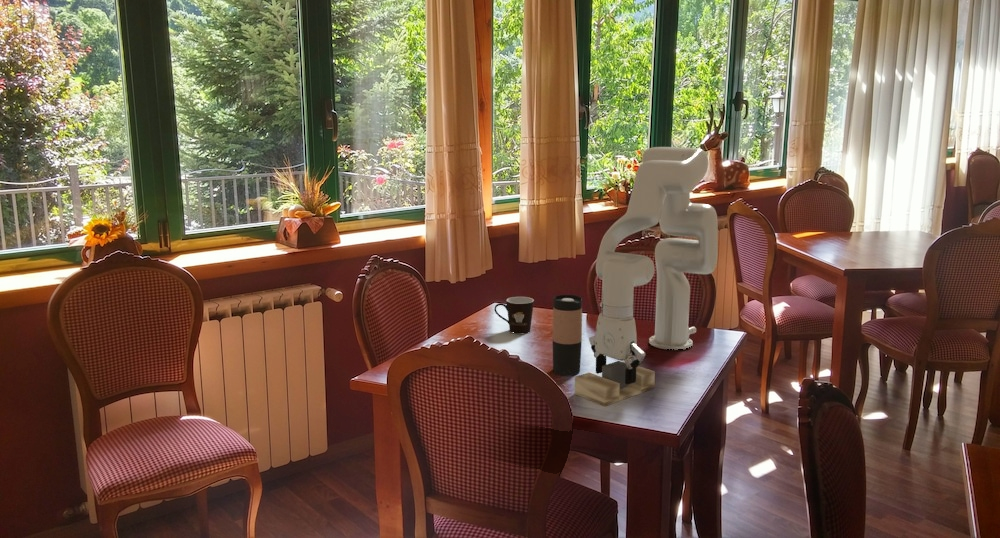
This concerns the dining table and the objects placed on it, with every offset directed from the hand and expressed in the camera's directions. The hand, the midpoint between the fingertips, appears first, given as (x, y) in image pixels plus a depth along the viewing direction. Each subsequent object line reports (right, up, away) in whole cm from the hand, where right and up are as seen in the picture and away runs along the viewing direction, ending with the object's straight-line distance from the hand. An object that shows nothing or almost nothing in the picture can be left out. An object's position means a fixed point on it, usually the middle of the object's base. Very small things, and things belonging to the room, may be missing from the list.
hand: (615, 377), depth 186 cm
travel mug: (-11, -1, +15) cm, 18 cm away
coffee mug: (-23, +7, +52) cm, 57 cm away
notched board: (0, -3, +1) cm, 4 cm away
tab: (0, -3, 0) cm, 3 cm away
